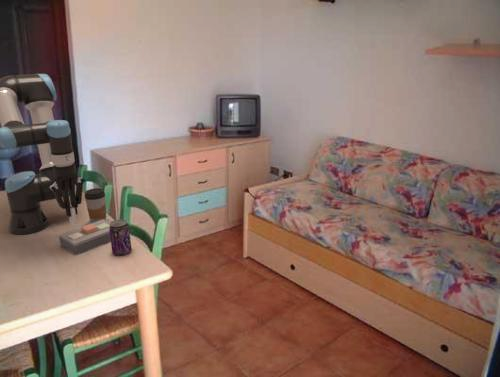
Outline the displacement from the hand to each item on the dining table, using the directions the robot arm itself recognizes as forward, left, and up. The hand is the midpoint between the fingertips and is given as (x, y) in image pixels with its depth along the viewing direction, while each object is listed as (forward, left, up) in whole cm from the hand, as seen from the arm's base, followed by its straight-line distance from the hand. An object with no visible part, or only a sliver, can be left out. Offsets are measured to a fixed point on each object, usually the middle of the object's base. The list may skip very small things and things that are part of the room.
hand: (73, 223), depth 168 cm
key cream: (0, 0, -8) cm, 8 cm away
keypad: (0, +6, -10) cm, 11 cm away
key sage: (0, +11, -8) cm, 14 cm away
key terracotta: (0, +6, -7) cm, 9 cm away
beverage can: (+17, +9, -10) cm, 22 cm away
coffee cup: (-13, +17, -10) cm, 23 cm away
